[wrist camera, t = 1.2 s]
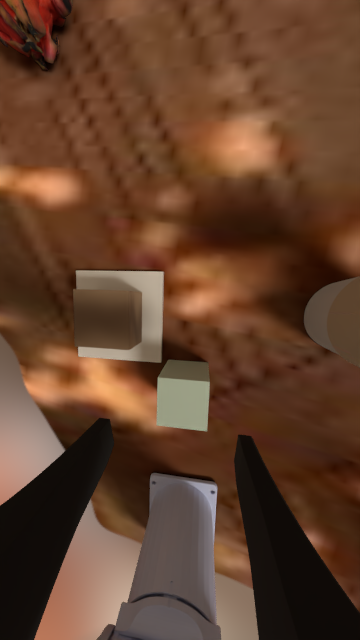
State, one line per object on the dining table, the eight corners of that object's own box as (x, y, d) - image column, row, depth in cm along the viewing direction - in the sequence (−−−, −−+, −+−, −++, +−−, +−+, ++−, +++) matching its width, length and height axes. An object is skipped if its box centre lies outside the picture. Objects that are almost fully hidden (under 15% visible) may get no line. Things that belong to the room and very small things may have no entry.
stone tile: (161, 361, 21) (160, 362, 20) (81, 355, 22) (78, 356, 22) (163, 272, 20) (162, 271, 19) (78, 271, 21) (76, 270, 21)
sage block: (206, 400, 21) (207, 431, 16) (167, 396, 21) (156, 425, 16) (208, 362, 20) (209, 381, 15) (168, 359, 21) (157, 377, 16)
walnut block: (141, 341, 20) (129, 350, 17) (95, 338, 21) (74, 346, 18) (142, 292, 20) (129, 290, 16) (94, 290, 20) (73, 289, 17)
